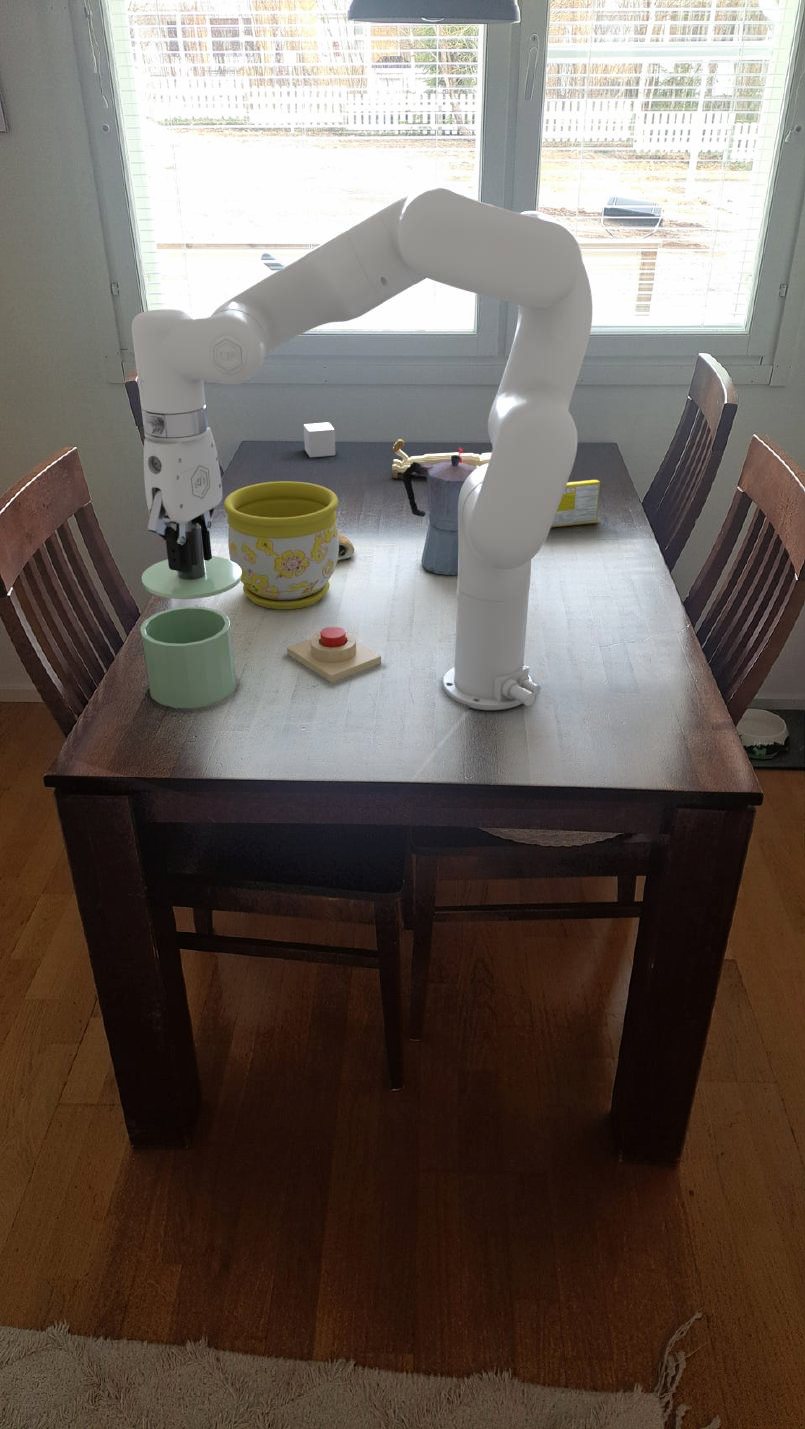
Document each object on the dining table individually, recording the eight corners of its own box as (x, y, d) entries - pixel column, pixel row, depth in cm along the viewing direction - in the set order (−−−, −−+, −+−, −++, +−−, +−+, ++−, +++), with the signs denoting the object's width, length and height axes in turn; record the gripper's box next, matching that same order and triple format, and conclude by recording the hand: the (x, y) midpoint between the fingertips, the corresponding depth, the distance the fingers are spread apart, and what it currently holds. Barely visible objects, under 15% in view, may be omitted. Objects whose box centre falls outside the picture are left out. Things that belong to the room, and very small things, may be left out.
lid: (260, 573, 134) (256, 518, 130) (205, 611, 124) (199, 552, 120) (181, 557, 138) (175, 503, 134) (121, 592, 129) (113, 535, 125)
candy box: (592, 520, 198) (597, 478, 193) (597, 523, 196) (601, 482, 192) (514, 527, 194) (517, 485, 190) (518, 531, 192) (521, 489, 188)
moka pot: (483, 580, 173) (489, 466, 162) (396, 573, 175) (395, 460, 165) (490, 559, 181) (496, 449, 170) (406, 552, 183) (407, 443, 173)
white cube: (329, 448, 238) (329, 422, 234) (335, 455, 233) (334, 429, 230) (304, 449, 236) (303, 424, 233) (309, 457, 231) (308, 431, 228)
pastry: (306, 546, 186) (305, 526, 184) (341, 541, 188) (340, 521, 186) (322, 564, 178) (322, 544, 176) (358, 559, 181) (358, 539, 179)
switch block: (381, 666, 147) (381, 645, 145) (331, 686, 142) (330, 664, 140) (336, 639, 154) (335, 619, 152) (287, 657, 149) (285, 636, 147)
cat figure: (392, 487, 217) (509, 481, 215) (389, 447, 213) (508, 440, 210) (396, 472, 226) (508, 466, 223) (393, 434, 221) (507, 427, 218)
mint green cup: (251, 679, 143) (246, 616, 138) (203, 719, 134) (196, 652, 129) (183, 662, 148) (175, 600, 142) (132, 699, 138) (122, 634, 133)
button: (350, 643, 146) (350, 633, 145) (330, 651, 144) (330, 640, 143) (335, 635, 148) (335, 624, 147) (315, 642, 146) (315, 631, 145)
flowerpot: (286, 563, 179) (281, 473, 170) (363, 591, 169) (361, 496, 160) (209, 596, 167) (199, 501, 158) (287, 628, 157) (280, 528, 148)
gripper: (158, 444, 113) (176, 594, 122) (240, 409, 125) (250, 547, 135) (104, 435, 115) (126, 583, 125) (189, 402, 128) (203, 538, 138)
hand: (190, 563), depth 130 cm, fingers closed on lid, 3 cm apart
